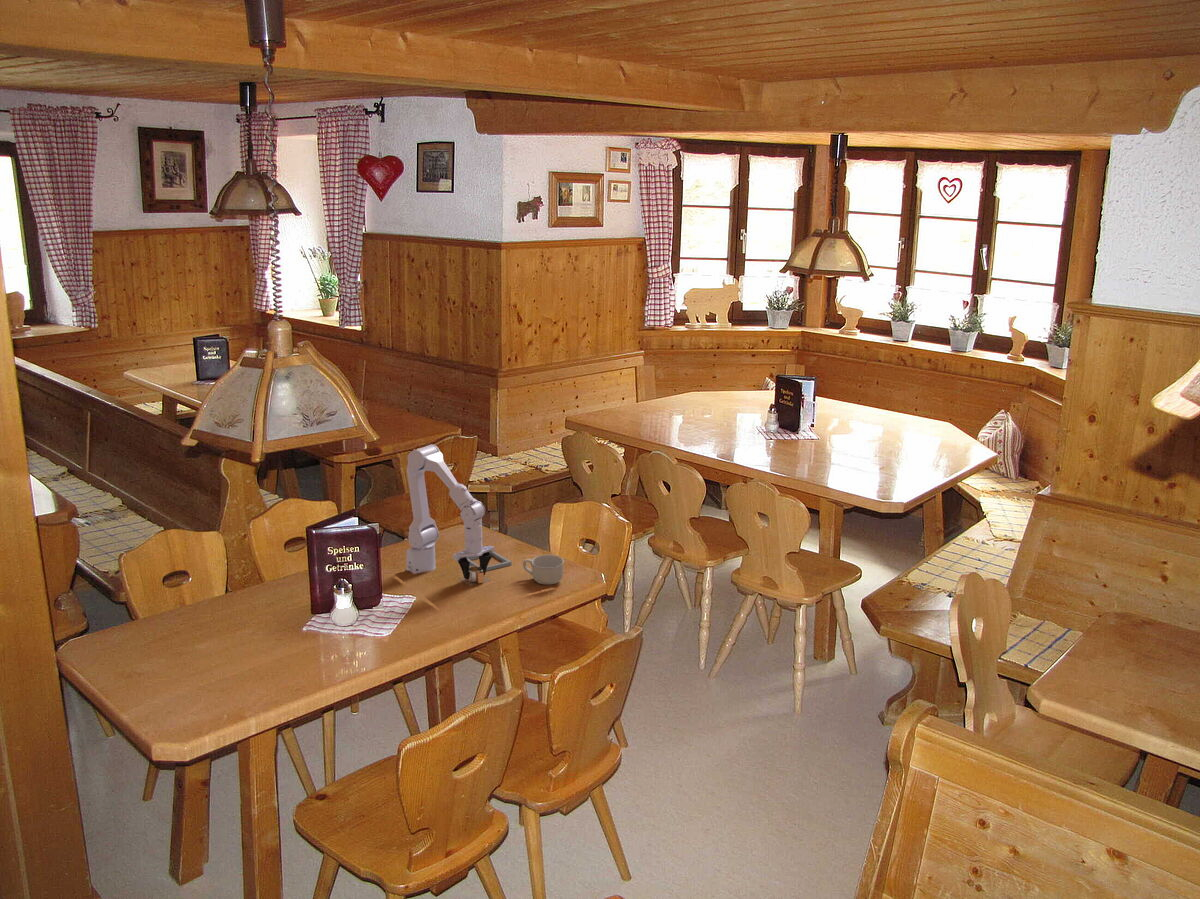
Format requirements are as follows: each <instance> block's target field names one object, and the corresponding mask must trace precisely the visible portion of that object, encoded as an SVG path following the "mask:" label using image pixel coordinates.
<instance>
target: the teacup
mask: <svg viewBox="0 0 1200 899" xmlns="http://www.w3.org/2000/svg"><path fill="white" fill-rule="evenodd" d="M526 563H529V565H530V566H531V569H530V568H528V566H527V564H526ZM564 563H565V560H564V558H562V557H561V556H559V555H555V554H540V555H537V556H535V557H533V558H532V559H531V558H526V559H524V561H522V568H523V569H524V570H525V572H527V573H528V574H530V576H532V578H533V580H534V582H536V583H537V584H540V585H546V586H550V585H556V584H558V583H560V581H561V580H562V579H563V577H564Z"/></svg>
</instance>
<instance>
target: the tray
mask: <svg viewBox="0 0 1200 899" xmlns="http://www.w3.org/2000/svg"><path fill="white" fill-rule="evenodd" d="M490 555H491V557H492V556H493V557H494V558H496V559H497V560H499V561H501V562H499V563H496V564H491V565H487V569H486V572H489V571H492V570H496V569H501V568H504V567H509V566H512V563H513V562H512V560H510V559H508V558H506V557H504V556H503V555H501V554H499V553H498V552H496V551H494V553H491V552H490ZM467 559H468V561H469V562H470V564H469V567H470V566H480V564H477V563H476V562H474V561H473V560H477V559H478V560H479V556H473V557H469V558H467Z"/></svg>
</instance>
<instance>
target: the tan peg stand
mask: <svg viewBox="0 0 1200 899" xmlns="http://www.w3.org/2000/svg"><path fill="white" fill-rule="evenodd" d="M471 571H477V566H472V567H471ZM458 580H460V581H461V582H463V583H464V584H466V585H467V586H469V587H472V586H476V585H479V584H480V585H481V583H479V584H478V583H477V582H470V581H467V580H466V579H465V578H464V576H463V577H460V578H458ZM491 581H492V580H491V579H490V578H488V577H486V576H484V582H483V583H482V584H484V583H487V582H488V583H489V582H491Z"/></svg>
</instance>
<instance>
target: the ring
mask: <svg viewBox="0 0 1200 899" xmlns="http://www.w3.org/2000/svg"><path fill="white" fill-rule="evenodd" d="M471 567H472V566H470V565H469V579H466V580H467V581H470V582H477V583H478V584H477V585H479V583H480V584H484V583H485V582H484V577H485V575H484V572H483V568H482V567H481V566H480V565H479V566H477V571H471ZM483 582H484V583H483Z"/></svg>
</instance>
